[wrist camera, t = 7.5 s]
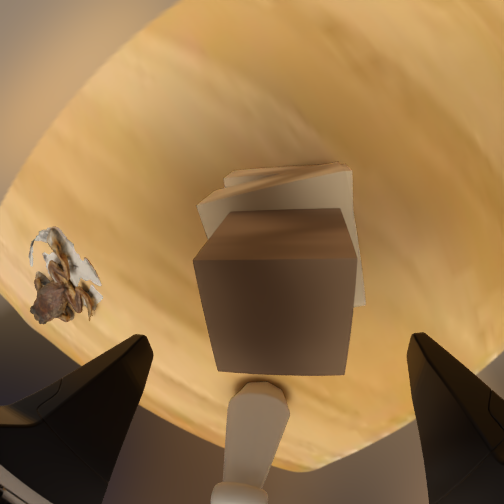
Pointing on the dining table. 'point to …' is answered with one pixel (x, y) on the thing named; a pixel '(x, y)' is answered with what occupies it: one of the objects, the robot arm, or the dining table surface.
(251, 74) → the dining table surface
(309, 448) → the dining table surface
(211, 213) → the beech slab upper
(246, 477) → the salt shaker
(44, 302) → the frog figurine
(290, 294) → the walnut cube
